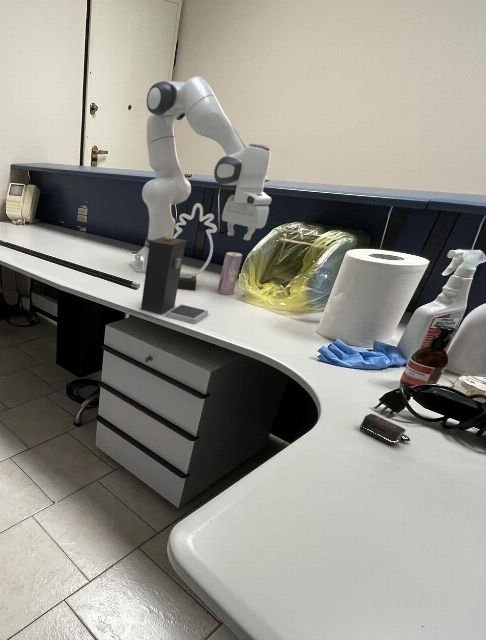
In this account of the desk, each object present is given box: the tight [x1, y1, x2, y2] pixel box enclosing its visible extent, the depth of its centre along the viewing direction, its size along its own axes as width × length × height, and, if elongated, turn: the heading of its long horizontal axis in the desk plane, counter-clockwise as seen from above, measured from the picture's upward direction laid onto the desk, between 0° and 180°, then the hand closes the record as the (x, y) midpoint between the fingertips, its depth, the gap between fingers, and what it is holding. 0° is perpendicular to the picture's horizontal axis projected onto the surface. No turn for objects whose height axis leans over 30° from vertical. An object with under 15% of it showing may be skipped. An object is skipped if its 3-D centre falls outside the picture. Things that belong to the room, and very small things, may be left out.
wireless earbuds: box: [359, 413, 411, 446], centre depth 80 cm, size 5×7×3 cm, turn 27°
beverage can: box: [217, 251, 243, 295], centre depth 158 cm, size 6×6×15 cm
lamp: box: [173, 202, 218, 291], centre depth 160 cm, size 17×9×32 cm, turn 73°
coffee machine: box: [140, 237, 209, 324], centre depth 135 cm, size 20×11×24 cm, turn 49°
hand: (238, 237), depth 151 cm, fingers open, 8 cm apart
